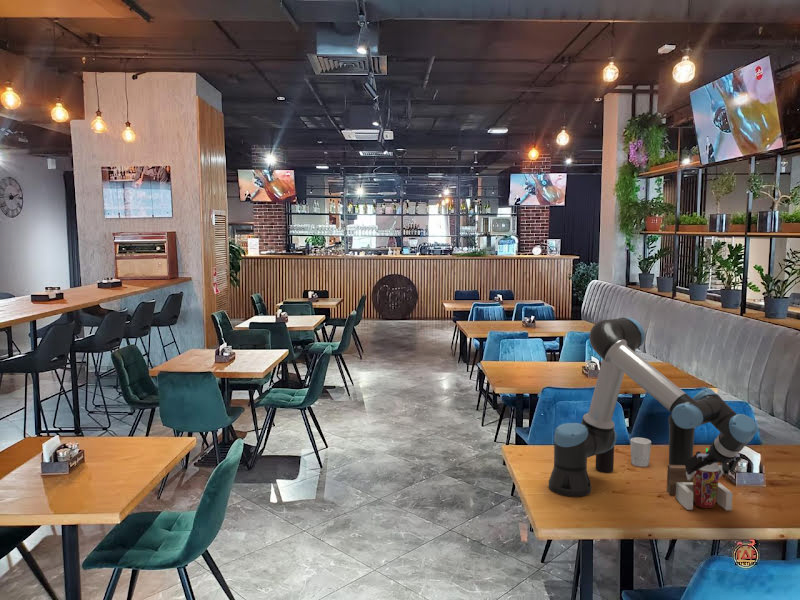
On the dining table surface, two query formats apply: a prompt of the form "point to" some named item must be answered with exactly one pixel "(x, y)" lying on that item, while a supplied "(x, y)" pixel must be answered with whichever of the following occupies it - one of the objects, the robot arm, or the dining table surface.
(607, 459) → the vinegar
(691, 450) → the water bottle
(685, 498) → the frame
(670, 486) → the backstop wall
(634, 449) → the white cup
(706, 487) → the smoothie
